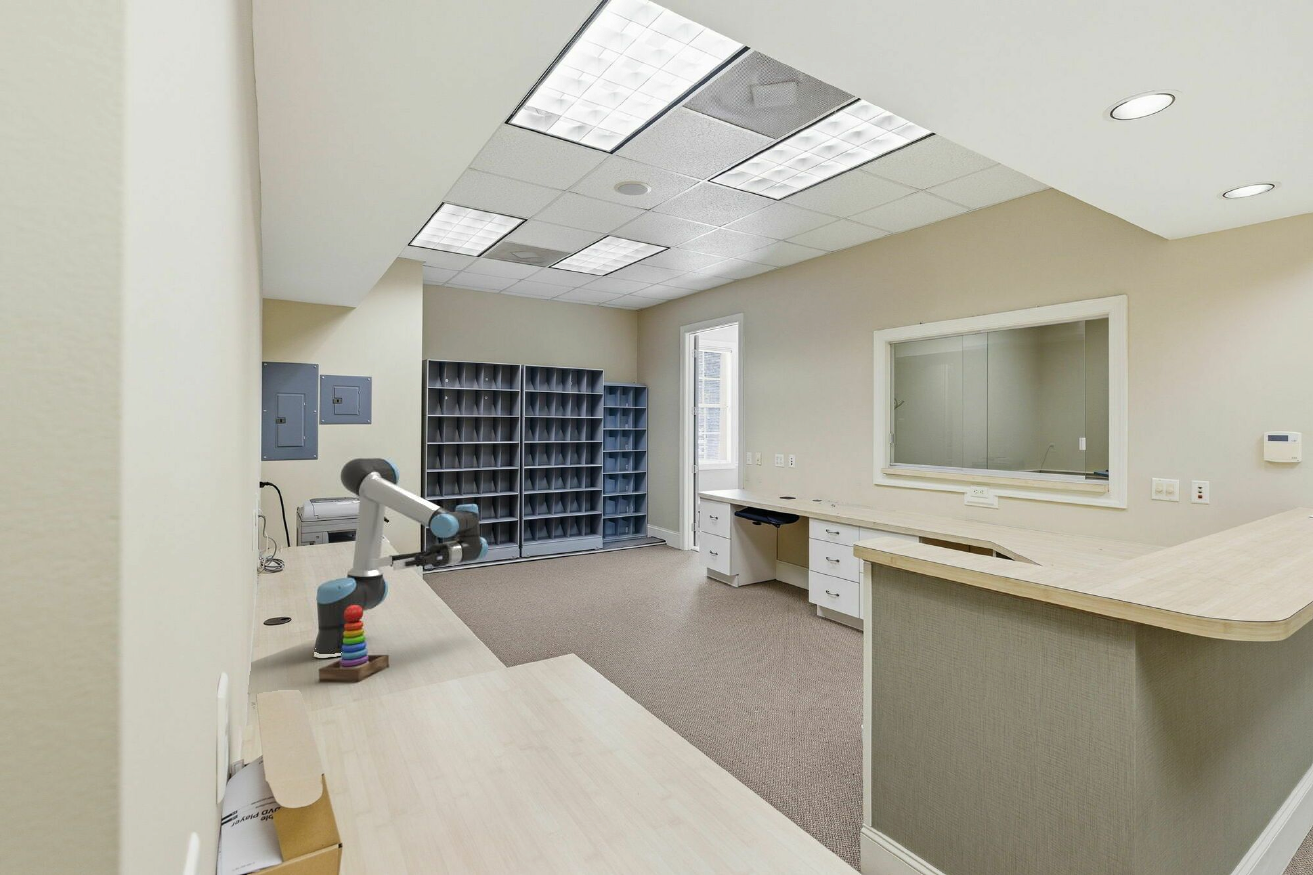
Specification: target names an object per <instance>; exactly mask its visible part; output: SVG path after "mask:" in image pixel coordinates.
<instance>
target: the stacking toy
mask: <svg viewBox="0 0 1313 875" xmlns="http://www.w3.org/2000/svg"><path fill="white" fill-rule="evenodd" d="M363 616H364V611H363V609H362V608H361V607H360V606H358V605H352V606H349V607H348V608H347V609H346V610H345V612H344V617H345V619H346V621H348V622H347V623H346V624H345V625H344V628H345V629H346V630H345V631H344V633H343V635H344V636H345V638H344V639H343V643H344V645H343V646H342V650H343V652H342V653H341V658H340V659H339V660H340V665H341V666H340V668H359V667H361V666H363V665H365V664H367V663H369V662H368V655H369V654H368V651H369V650H368V648H367V643H366V641H365V640H366V635H365V634H364V633H365V629H364V628H363V627H364V622H363V621H362V620H361V619H362V618H363Z"/></svg>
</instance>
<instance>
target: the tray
mask: <svg viewBox="0 0 1313 875" xmlns="http://www.w3.org/2000/svg"><path fill="white" fill-rule="evenodd" d="M367 655H368V662H369V663H367V664H365V665H363V666H361V667H359V668H340V666H341V665H340V660H341V659H339V660H336V661H334V662H332V663H330V664H327V665H325V666H322V667H320V668H318V680H319V682H322V683H323V682H324V683H325V682H330V683H333V682H334V683H335V682H337V683H338V682H339V683H360V682H361V681H363V680H365V679H368V678H369V677H371V676H373V675H375V674H377V673H379V672H381V671H383V670H385V669H388V668H389V667H390V660H389V658H390V657H389V654H367Z"/></svg>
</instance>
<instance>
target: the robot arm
mask: <svg viewBox="0 0 1313 875" xmlns="http://www.w3.org/2000/svg"><path fill="white" fill-rule="evenodd" d="M399 479H400V472H399V469H398V467H397V466H396V464H394V462H392V460H389V459H385V458H380V457H378V458H377V457H373V458H372V457H371V458H370V457H369V458H367V457H366V458H354V459H352V460H349V461H348V462H346V463H345V464H344V465H343V467H342V469H341V471H340V481H341V484H342V485H343V487H344V489H346V490H347V491H349V492H350V493H352V494H353V495H355V497H356V498H357V499H358V500H359V503H358V512H357V521H356V522H357V525H356V532H355V541H354V553H353V563H352V568H350V569H349V570H348V571H347V576H346V577H343V578H341V577H340V578H337V579H336V578H335V579H333V580H328V581H326V582H324V583H322V584H320V585H319V586H318V588H317V590H316V605H317V607H316V610H317V625H318V632H317V635H316V639H315V643H314V644H315V645H314V647H313V650H314V652H317V653H319V654H335V653H341V652H343V650H342V646H343V645H344V643H343V639H344V638H345V636H344V635H343V633H344V631H345V630H346V629H345V628H344V625H345V624H346V623H347V622H348V621H346V619H345V617H344V612H345V610H346V609H347V608H348V607H349V606H352V605H358V606H360V607H361V608H362V609H363V612H365V611H368V610H372V609H375V608H376V607H378V606H379V605H381V604H382V603H383V602H384V601H385V599H386V598H387V595H388V591H389V585H388V582H387V581H386V578H385V577H384V571H383V570H382V569H381V568H382V567H387V566H388V567H389V566H390V567H391V568H393V571H399V570H404V569H411V568H415V567H426V566H429V565H431V566H432V567H434V568H439V567H440V568H442V567H445V566H451V567H454V566H455V564H462V563H466V562H474V561H477V560H480V559H484V558H485V557H487V554H488V553H489V545H488V542H487V540H486V539H485V538H484V537H481V535H480V534H481V533H480V513H479V506H478V505H477V504H476V503H470V504H469V503H468V504H459V505H456V506H455V511H454V512H450V511H449V510H447V509H445V508H442V507H441V506H439V505H437V504H435V503H433V502H431V501H429V500H428V499H426V498H423V497H421V496H419V495H417V494H416V493H413V492H410V491H409V490H407V489H406V488H403V487H401V486H399V485H398V483H399V481H400V480H399ZM386 508H389V509H391V510H393V511H395V512H397V513H398V514H401V515H403V516H404V517H407V518H409V519H410V520H412V521H414V522H417V523H418V524H421V525H422V526H425V527H427V528H429V529H430V530H431V532H432V534H433V535H434V536H435V537H437V538H450V537H454V536H456V538H457V539H456V540H453V541H446V542H442V543H441V542H440V543H436V544H435V543H434V544H432V545H430V546H429V549H428V550H422V551H417V552H412V553H404V554H395V555H388V556H385V557H381V553H382V545H383V544H382V542H383V534H384V533H383V532H384V524H385V523H384V522H385V513H386ZM315 648H316V649H315ZM313 650H312V651H313Z"/></svg>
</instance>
